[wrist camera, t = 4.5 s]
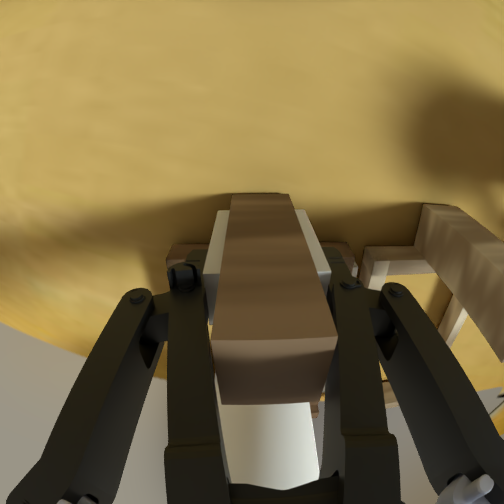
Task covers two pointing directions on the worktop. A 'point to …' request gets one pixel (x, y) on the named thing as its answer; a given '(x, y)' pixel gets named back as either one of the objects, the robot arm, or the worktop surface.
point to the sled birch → (449, 273)
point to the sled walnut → (269, 307)
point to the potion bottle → (269, 444)
